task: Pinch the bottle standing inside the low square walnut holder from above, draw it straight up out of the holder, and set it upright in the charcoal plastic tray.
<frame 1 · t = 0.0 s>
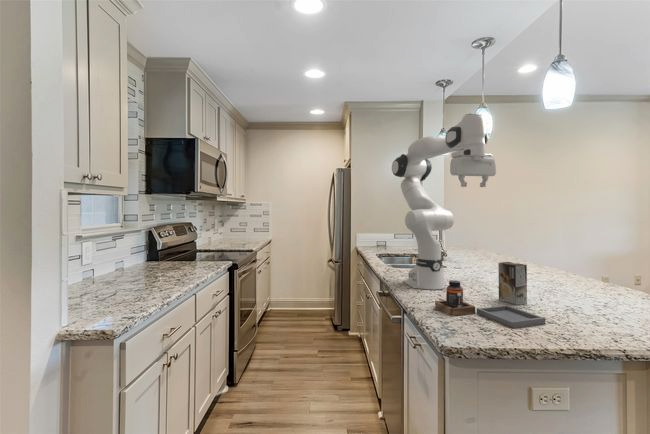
hand: (473, 187, 137), 48 cm above the countertop, tool pointing down, fingers open, 8 cm apart
supplement bottle: (454, 311, 128), resting in walnut holder
charcoal tray: (509, 318, 118), on the countertop
walnut holder: (454, 310, 128), on the countertop
coffee box: (512, 302, 139), on the countertop
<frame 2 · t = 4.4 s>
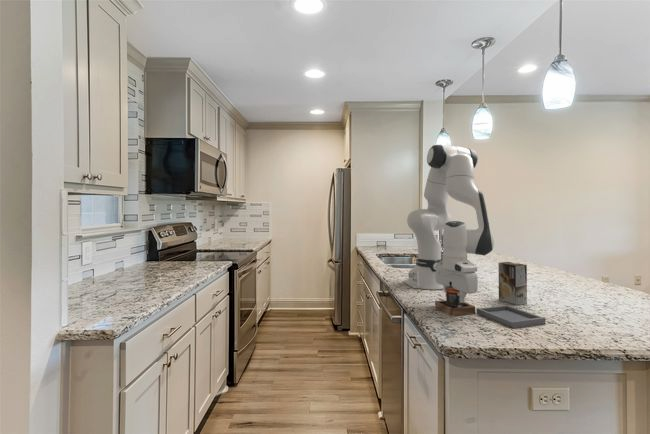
hand: (454, 299, 128), 4 cm above the countertop, tool pointing down, fingers closed on supplement bottle, 6 cm apart
supplement bottle: (454, 311, 128), resting in walnut holder, touching gripper
everything else where it was.
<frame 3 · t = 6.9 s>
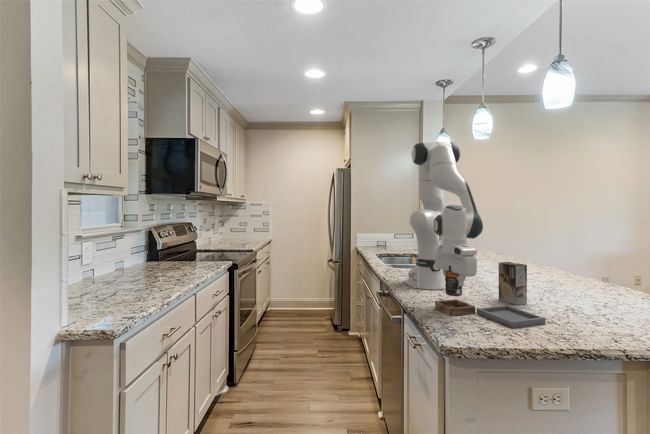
hand: (453, 283, 128), 10 cm above the countertop, tool pointing down, fingers closed on supplement bottle, 6 cm apart
supplement bottle: (453, 295, 128), point 6 cm above the countertop, touching gripper
everything else where it was.
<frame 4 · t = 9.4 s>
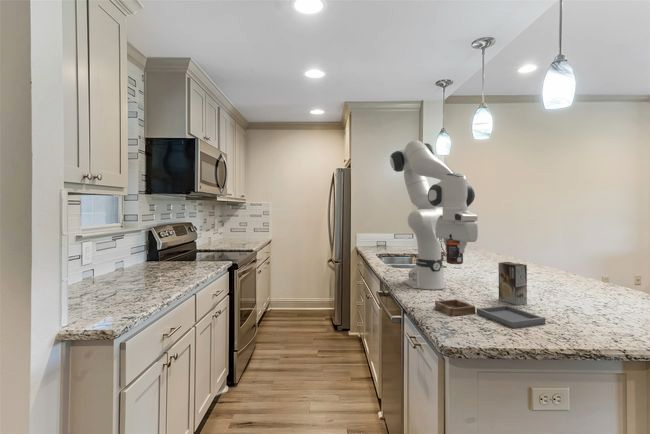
hand: (454, 251, 127), 23 cm above the countertop, tool pointing down, fingers closed on supplement bottle, 6 cm apart
supplement bottle: (454, 264, 127), point 18 cm above the countertop, touching gripper
everything else where it was.
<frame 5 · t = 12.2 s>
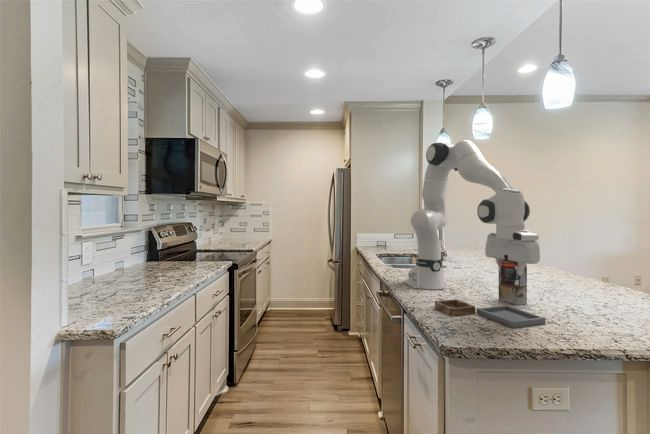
hand: (510, 273, 117), 16 cm above the countertop, tool pointing down, fingers closed on supplement bottle, 6 cm apart
supplement bottle: (510, 286, 117), point 11 cm above the countertop, touching gripper
everything else where it was.
when the fingers open (6 cm above the countertop, at t = 14.7 s): supplement bottle stays where it is, resting on charcoal tray.
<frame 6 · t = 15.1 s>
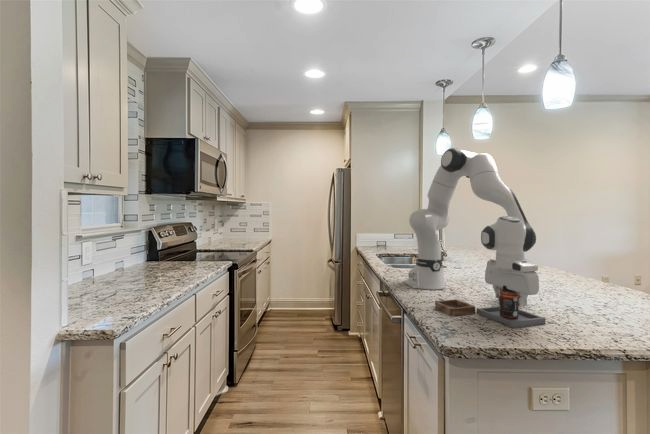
hand: (509, 301, 118), 6 cm above the countertop, tool pointing down, fingers open, 8 cm apart
supplement bottle: (508, 317, 118), resting on charcoal tray
everything else where it was.
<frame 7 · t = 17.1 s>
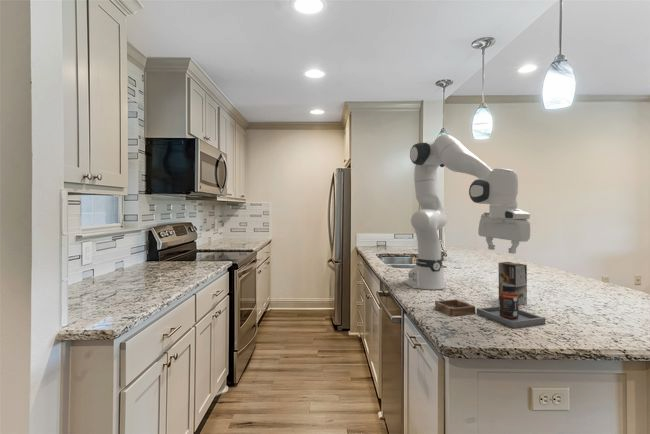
hand: (501, 251, 120), 24 cm above the countertop, tool pointing down, fingers open, 8 cm apart
nothing on the countertop moved.
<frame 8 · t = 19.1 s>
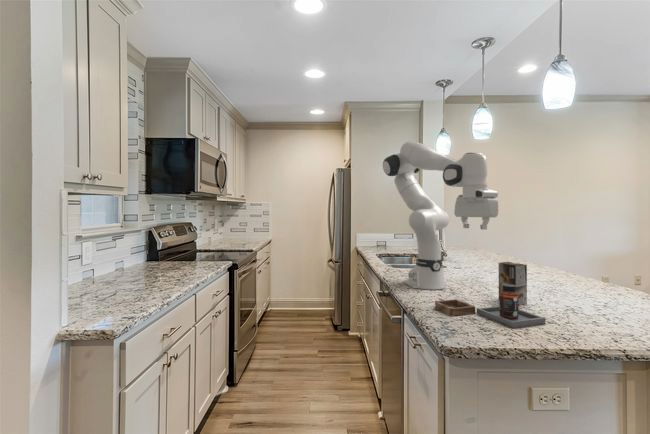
hand: (474, 228, 131), 31 cm above the countertop, tool pointing down, fingers open, 8 cm apart
nothing on the countertop moved.
at the end: supplement bottle inside the target area on the charcoal tray (0.2 cm from its centre), point 0.4 cm above the charcoal tray's base; supplement bottle tilted 0°; the gripper is holding nothing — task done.
